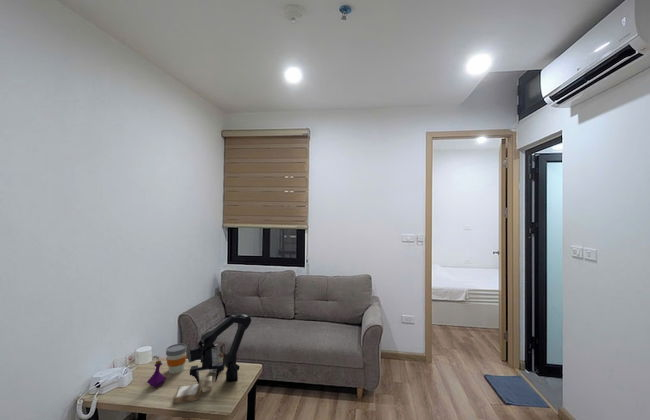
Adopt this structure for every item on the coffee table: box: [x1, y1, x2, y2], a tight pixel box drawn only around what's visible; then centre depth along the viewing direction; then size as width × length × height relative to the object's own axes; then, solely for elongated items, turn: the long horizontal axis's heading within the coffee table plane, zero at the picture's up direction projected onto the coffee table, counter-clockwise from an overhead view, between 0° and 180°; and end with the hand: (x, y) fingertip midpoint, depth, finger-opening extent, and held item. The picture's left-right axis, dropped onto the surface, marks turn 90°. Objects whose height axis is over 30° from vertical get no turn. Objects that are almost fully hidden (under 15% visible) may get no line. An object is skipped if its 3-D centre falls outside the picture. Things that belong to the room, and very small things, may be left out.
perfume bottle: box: [147, 354, 167, 388], centre depth 184 cm, size 8×8×18 cm
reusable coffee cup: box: [165, 343, 188, 375], centre depth 202 cm, size 13×13×15 cm
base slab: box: [173, 382, 202, 405], centre depth 173 cm, size 12×12×3 cm
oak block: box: [201, 375, 213, 393], centre depth 180 cm, size 5×5×6 cm
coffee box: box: [208, 341, 226, 374], centre depth 202 cm, size 9×6×16 cm
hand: (207, 382), depth 180 cm, fingers open, 9 cm apart
